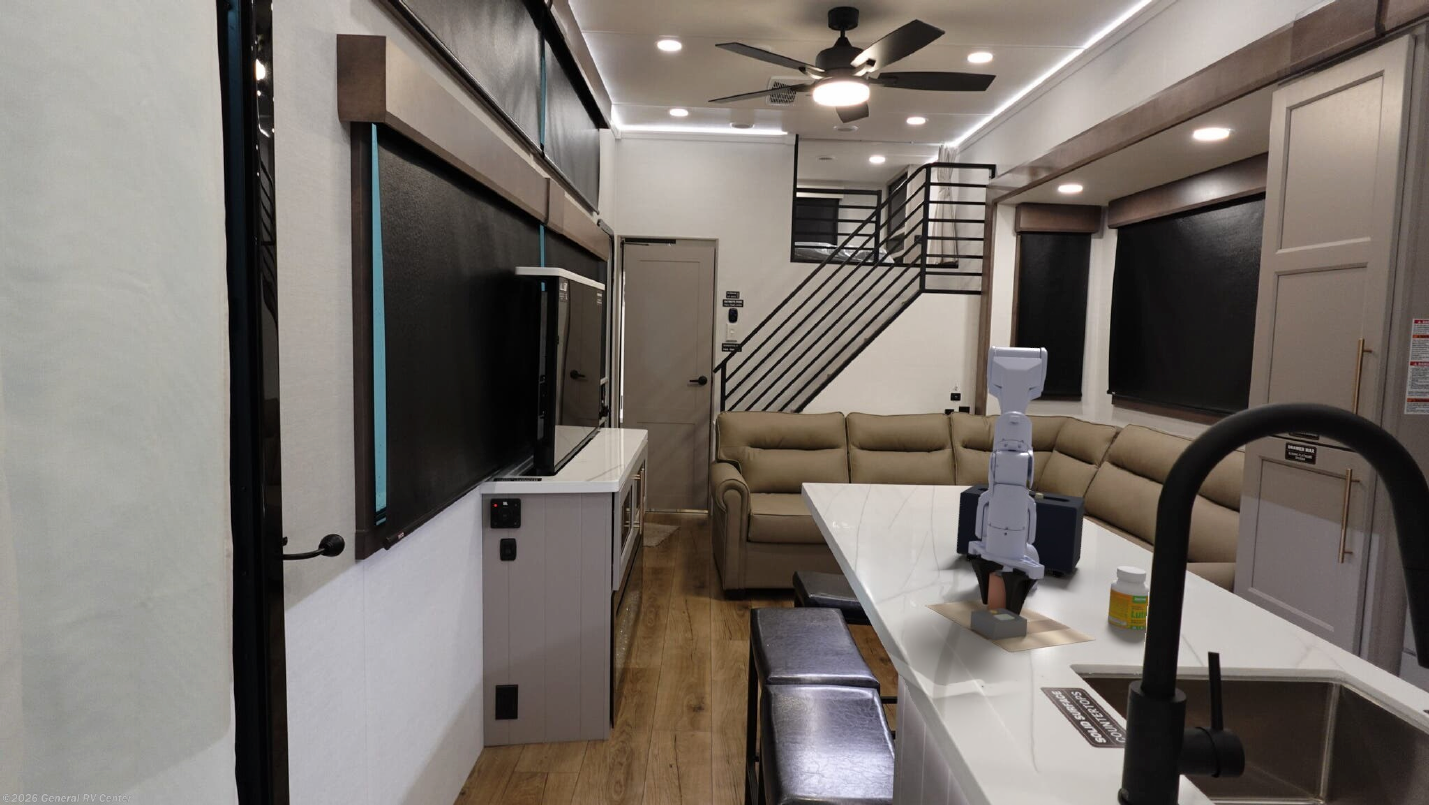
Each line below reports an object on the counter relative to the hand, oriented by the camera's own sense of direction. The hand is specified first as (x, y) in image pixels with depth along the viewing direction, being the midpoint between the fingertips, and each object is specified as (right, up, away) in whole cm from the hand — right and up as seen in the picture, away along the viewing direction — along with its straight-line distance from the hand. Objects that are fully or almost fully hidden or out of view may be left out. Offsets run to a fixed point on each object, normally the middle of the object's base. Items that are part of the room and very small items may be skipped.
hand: (1000, 609), depth 120 cm
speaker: (+16, 0, +33) cm, 37 cm away
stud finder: (-4, -1, -8) cm, 9 cm away
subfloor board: (-1, -2, -4) cm, 4 cm away
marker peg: (0, -1, 0) cm, 0 cm away
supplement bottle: (+19, -3, -2) cm, 19 cm away
